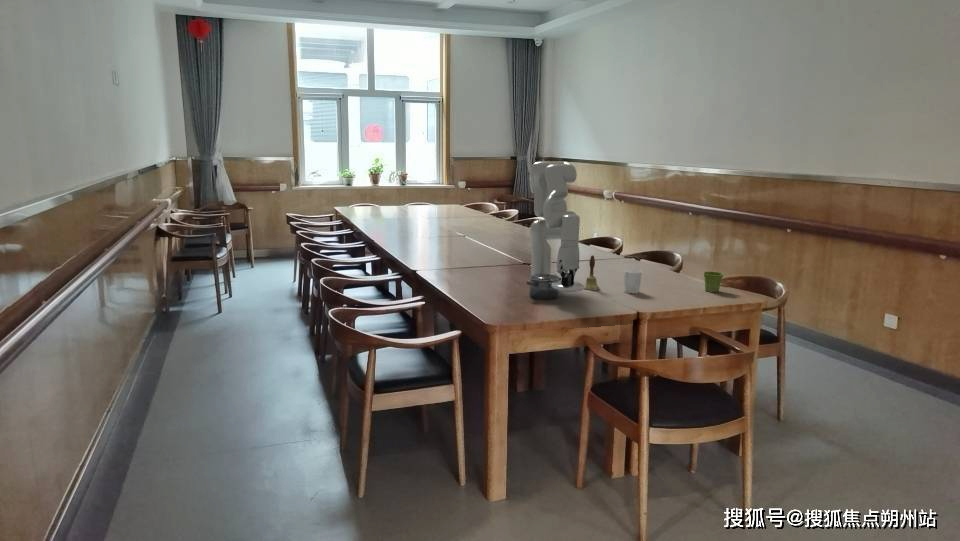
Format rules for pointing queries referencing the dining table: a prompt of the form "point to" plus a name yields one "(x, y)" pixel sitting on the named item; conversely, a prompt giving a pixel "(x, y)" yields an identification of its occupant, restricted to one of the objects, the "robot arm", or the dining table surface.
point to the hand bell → (591, 277)
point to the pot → (543, 286)
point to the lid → (570, 287)
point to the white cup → (632, 281)
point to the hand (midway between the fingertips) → (567, 284)
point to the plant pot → (712, 281)
